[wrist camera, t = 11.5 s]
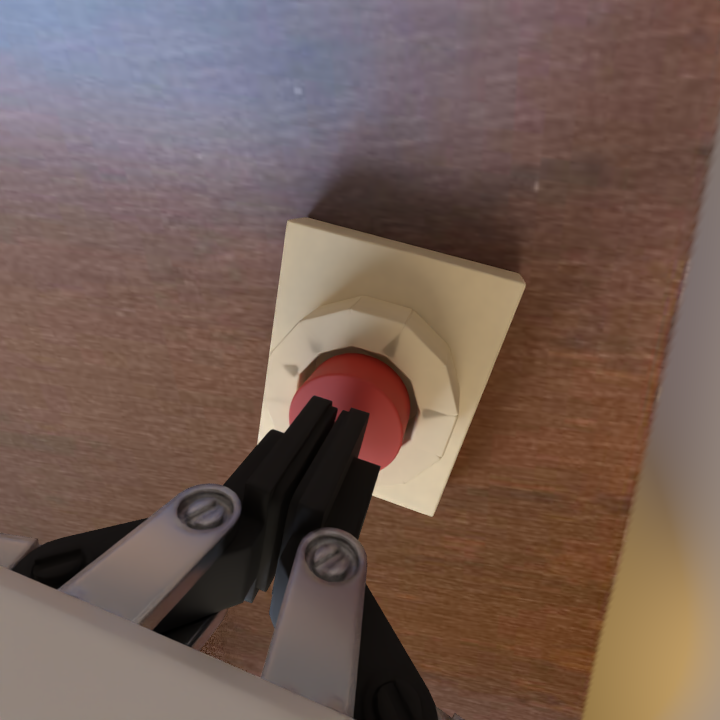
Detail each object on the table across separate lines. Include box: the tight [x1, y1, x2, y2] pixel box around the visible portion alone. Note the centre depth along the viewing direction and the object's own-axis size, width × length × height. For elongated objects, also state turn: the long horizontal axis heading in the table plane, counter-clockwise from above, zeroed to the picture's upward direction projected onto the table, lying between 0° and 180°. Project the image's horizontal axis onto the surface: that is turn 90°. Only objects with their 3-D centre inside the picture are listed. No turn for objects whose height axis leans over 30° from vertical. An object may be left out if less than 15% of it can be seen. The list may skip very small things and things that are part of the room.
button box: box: [257, 217, 526, 516], centre depth 15 cm, size 10×8×4 cm
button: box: [289, 353, 410, 471], centre depth 13 cm, size 4×4×2 cm
